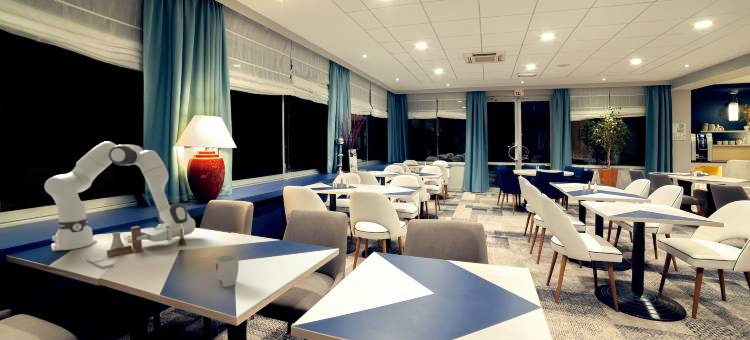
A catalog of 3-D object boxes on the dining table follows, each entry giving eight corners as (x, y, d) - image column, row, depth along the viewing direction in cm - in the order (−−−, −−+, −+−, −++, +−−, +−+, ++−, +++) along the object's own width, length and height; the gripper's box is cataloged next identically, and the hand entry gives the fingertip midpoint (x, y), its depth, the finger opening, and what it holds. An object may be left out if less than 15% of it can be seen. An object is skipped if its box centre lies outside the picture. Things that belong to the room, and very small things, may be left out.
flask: (130, 251, 180) (128, 231, 179) (116, 255, 173) (114, 235, 172) (119, 250, 182) (117, 230, 181) (105, 254, 175) (103, 234, 174)
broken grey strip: (86, 260, 166) (86, 258, 166) (96, 258, 169) (96, 256, 169) (102, 268, 155) (102, 266, 155) (113, 265, 158) (113, 263, 158)
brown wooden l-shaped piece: (94, 251, 180) (92, 227, 179) (126, 244, 191) (124, 222, 190) (110, 257, 169) (108, 232, 168) (143, 249, 180) (141, 226, 179)
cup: (221, 280, 138) (219, 255, 138) (242, 279, 139) (241, 254, 138) (213, 289, 130) (211, 262, 129) (236, 287, 131) (234, 261, 130)
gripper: (154, 223, 195) (125, 229, 183) (172, 228, 183) (142, 234, 172) (154, 235, 195) (126, 241, 184) (173, 240, 184) (143, 247, 172)
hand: (134, 238), depth 178 cm, fingers closed on brown wooden l-shaped piece, 3 cm apart
